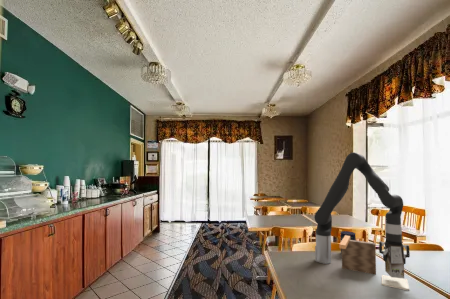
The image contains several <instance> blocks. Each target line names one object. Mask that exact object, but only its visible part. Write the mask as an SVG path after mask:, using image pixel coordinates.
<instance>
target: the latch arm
mask: <svg viewBox="0 0 450 299" xmlns="http://www.w3.org/2000/svg"><path fill="white" fill-rule="evenodd" d="M349 241H350V236H346V235H345V236H344V238H343V239H342V241H341V240H340V243H339V245H338V246H339V249H340V250H341V249H346V247H347V245H348V243H349Z"/></svg>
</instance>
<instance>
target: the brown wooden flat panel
mask: <svg viewBox="0 0 450 299" xmlns="http://www.w3.org/2000/svg"><path fill="white" fill-rule="evenodd" d="M376 248H377V247H376V243H375V242H368V241H361V240H356V241H355V240H350V241H349V243H348V245H347V247H346V249H342V254H341V268H342V269H344V270H349V271H354V272H359V273H366V274H371V275H374V276H376V274H377V258H376V256H377V254H376V253H377V252H376V251H377V250H376Z"/></svg>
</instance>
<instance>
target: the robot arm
mask: <svg viewBox="0 0 450 299" xmlns="http://www.w3.org/2000/svg"><path fill="white" fill-rule="evenodd" d="M355 169H356V170H358V172H360V173H361V174H362V176H364V178H365V179H366V181H367V183H368V185H369V186H370V187H371V188H372V190H373V191H374V192H375V193H376V195H377V196H378V198H379V200H380V202H381V204H382V205H383V206H384V207H385V208H387V209H388V210H389V211H388V212H386V213H385V227H384V228H385V229H384V230H385V241H380V240H379V242H378V243H379V244H378V253H379V254H381V255H382V258H383V259H382V260H383V261H384V263H385V262H386V253H387V252H388V248H387V249H385V248H384V251H383V247H384V246H385V245H386V247H387V245H388V244H391V245H392V244H393V245H400V246H403V247H404V250H406V254H405V253H404V265H406V263H407V261H406V259H407V258H410V257H411V255H410V254H411V253H410V245H409V244H404V243H403V234H402V233H403V229H402V218H401V217H402V214H403V213H402V212H403V210H404V209H403V207H404V201H403V198H402V197H401V196H400V195H398V194H391V193H390V192H389V191H390V187H389V186H388V184H386V183H385V182H384V180H382V178H381V177H380V176H379V175H378V174H377V173H376V172H375V171H374V169H373V168H372V166H371V165H370V163H369V161H367V159H366V158H365V156H364V155H362V154H360V153H358V152H350V153H349V154H348V155H346V157H345V160H344V161H343V164H342V166H341V168H340V170H339V172H338V174H337V176H336V178H335V180H334V181H333V183H332V185H331V186H330V188H329V190H328V192H327V193H326V196H325V198H324V200H323V202H322V203H321V205H320V207H318V209H317V211H316V212H315V213H314V217H313V218H314V220H315V222H316V224H317V225H316V229H315V245H314V246H315V247H314V250H315V252H314V256H315V257H314V261H315V262H317V263H320V264H324V265H325V264H328V265H329V264H331V263H332V228H333V225H332V224H333V222H332V221H333V219H332V218H333V217H332V216H333V215H332V213H333V211H334V209H335V207H336V206H338V205H339V203H340V202H341V201H342V199H344V197H345V195H346V193H347V192H348V190H349V185H350V179H351V176H352V174H353V172H354V170H355Z"/></svg>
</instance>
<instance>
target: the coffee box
mask: <svg viewBox="0 0 450 299" xmlns="http://www.w3.org/2000/svg"><path fill="white" fill-rule="evenodd" d="M387 248H388V252H387V253H386V262H385V261H384V264H385V265H384V266H385V268H384V269H385V272H386V273H387V275H388V276H391V277H394V278H403V279H405V264H404V254H405V248H404V247H403V246H400V245H393V244H392V245H391V244H388V245H387V247H386V245H385V244H384V250H385V249H387Z"/></svg>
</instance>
